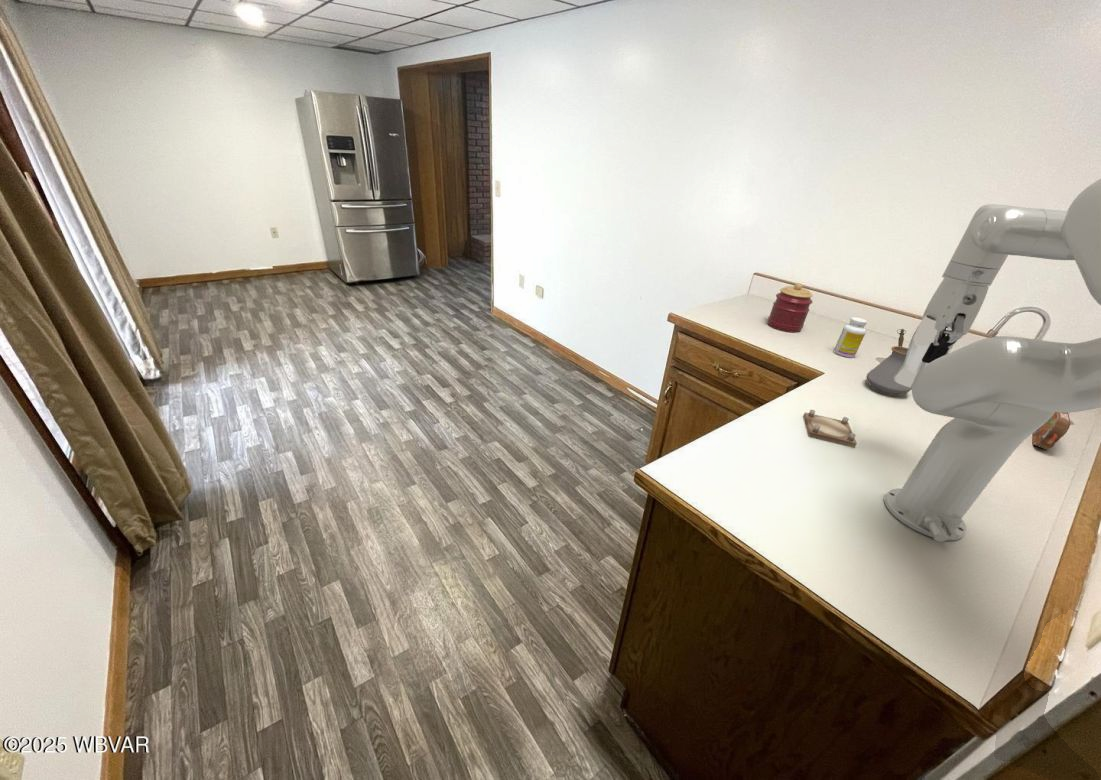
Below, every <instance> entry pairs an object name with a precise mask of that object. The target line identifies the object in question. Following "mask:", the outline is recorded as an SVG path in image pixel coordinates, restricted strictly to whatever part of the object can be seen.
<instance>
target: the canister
mask: <svg viewBox="0 0 1101 780" xmlns="http://www.w3.org/2000/svg"><path fill="white" fill-rule="evenodd" d="M779 291H780V292H779V293H778V292H777V293H776V294H775V296H776V299H775V300H774V301H773V303H772V304H773V305H772V307H771V311H770V314H769V315H768V319H767V325H768V326H769V327H771V328H773V329H775V330H778V331H782V332H786V333H799V332H800V331H801V332H802V329H803V328H804V323H805V321H806V319H807V317H808V313H809V312H810V306H811V305H812V304H813V299H811V298H812V297H813V294H812V293H811V292H810V290H808V289H807V288H805V287H804V288H803V284H802V283H795V285H794V286H793V285H788V286H785V287H782V288H780V290H779Z"/></svg>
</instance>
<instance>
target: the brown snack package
mask: <svg viewBox="0 0 1101 780" xmlns="http://www.w3.org/2000/svg"><path fill="white" fill-rule="evenodd" d="M1070 426H1071V419H1070V413H1063V412H1055V413H1054V415H1053V416H1052V417H1051V418H1050V419H1049V420H1048V421H1047V422H1046V423H1045V424H1043V425H1042V426H1041V427H1040V428H1039V429H1037V430H1036V431H1035V432H1033V433H1032V434H1031V435H1032V437H1031V438H1032V445H1033V446H1036V447H1038V448H1041V449H1045V450H1050V449H1052V448H1053V447H1054V446H1055V445H1056V443H1057V442H1058V441H1059V440H1061V438H1063V437H1064V436H1065V435H1066V434H1067V432H1068V431H1069V428H1070Z"/></svg>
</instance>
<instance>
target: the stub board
mask: <svg viewBox="0 0 1101 780" xmlns="http://www.w3.org/2000/svg"><path fill="white" fill-rule="evenodd" d="M803 420H804V425H805V428H806V432H807V435H808V437H809V438H814V439H817V440H818V439H819V440H821V441H825V442H831V443H835V444H838V445H843V446H848V447H851V448H856V446H857V444H858V442H857V440H856V436H857V434H855V433H854V432H853V431H852V428H851V426H850V424H849V418H848V417H846V416H843V417H842V420H841V419H837V418H832V417H828V416H823V415H818V414H816V410H815V409H810V410H809V412H804V414H803Z"/></svg>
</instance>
